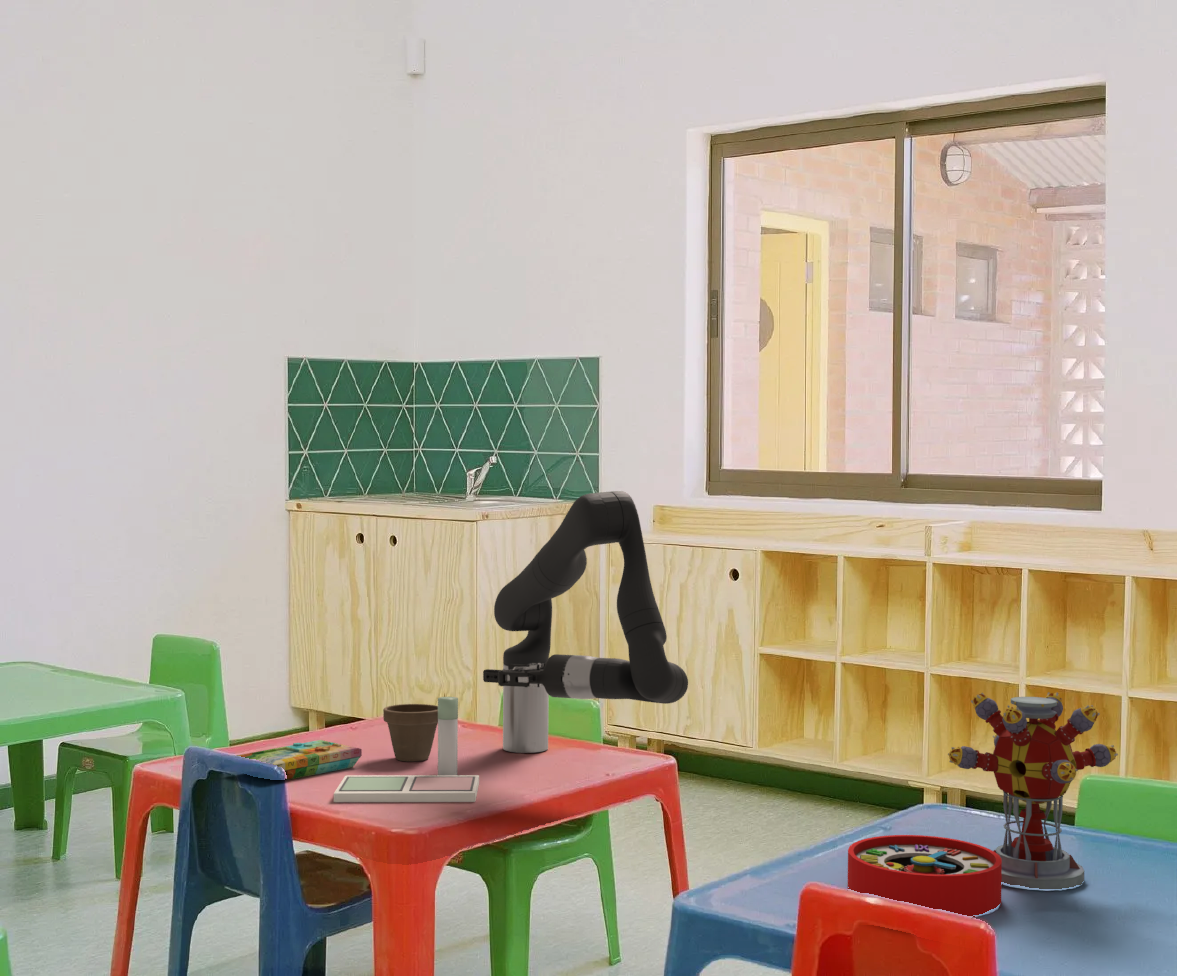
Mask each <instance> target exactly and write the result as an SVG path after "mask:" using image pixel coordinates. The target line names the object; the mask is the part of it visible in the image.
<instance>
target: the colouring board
mask: <svg viewBox="0 0 1177 976" xmlns="http://www.w3.org/2000/svg"><path fill="white" fill-rule="evenodd" d="M479 785H480V774H479V775H478V774H469V775H467V774H465V775H464V774H463V775H461V774H457V775H438V774H437V775H436V774H433V775H432V774H429V775H427V774H426V775H424V774H422V775H420V774H417V775H413V774H412V775H410V774H409V775H408V774H407V775H406V774H405V775H401V774H400V775H399V774H398V775H395V774H391V775H389V774H387V775H378V774H377V775H372V774H371V775H369V774H368V775H363V774H362V775H359V774H358V775H349V774H347V775H346V774H345V775H344V777H343V778H342V780H341V781H340V783H339V785H338V786H337V788H336V789H335V791H334V792H333V803H476V800H477V795H478V790H479V787H480V786H479Z"/></svg>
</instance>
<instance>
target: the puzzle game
mask: <svg viewBox="0 0 1177 976" xmlns="http://www.w3.org/2000/svg"><path fill="white" fill-rule="evenodd" d="M362 751H363V750H362V748H359V747H355V746H351V745H347V744H342V743H338V742H337V743H336V742H331V741H328V740H323V739H319V740H318V739H316V740H313V741H307V742H293V744H291V745H286V746H281V747H275V748H270V749H264V750H259V751H255V752H254V751H253V752H249V753H243V754H238V755H236V756H241V757H245V758H249V759H256V760H259V761H261V762H266V763H270V764H273V765H277V766H278V767H282V768H283V769H284V770H285V772H286V775H287V780H294V779H295V780H296V779H298V778H299V779H300V778H304V777H305V778H306V777H308V776H315V775H320V774H324V773H331V772H334V771H335V772H336V771H339V770H346V769H350V768H354V766H355V765H356V763H357V762H358V761H359V760H360V758H361V757H362V755H363V754H362ZM287 780H286V781H287Z"/></svg>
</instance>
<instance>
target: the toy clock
mask: <svg viewBox="0 0 1177 976" xmlns="http://www.w3.org/2000/svg"><path fill="white" fill-rule="evenodd" d="M1001 880H1002V859H1001V857H1000V856H999V855H998V854H997V853H996V852H994V850H992V849H990V848H987V847H985V846H984V845H983V846H982V845H981V844H978V843H977V844H976V843H973V842H970V841H965V840H962V839H957V838H956V839H955V838H950V837H949V838H948V837H941V836H935V835H921V834H920V835H919V834H918V835H917V834H894V835H893V834H891V835H890V834H889V835H880V836H873V837H868V838H864V839H860V840H858V841H856V842H853V843H852V844H851V845H849V847H848V849H847V889H851V890H854V891H857V892H860V893H869V894H874V895H878V896H881V897H885V898H889V899H893V900H897V901H904V902H909V903H913V904H917V905H921V906H925V907H929V908H933V909H942V910H946V911H950V912H954V913H958V914H962V915H967V916H973V915H979V914H983V913H985V912H987V911H989V910H991V909H994V908H996V907H997V906H998V905H999V904H1000V903H1001V904H1002V885H1001ZM848 887H849V888H848ZM973 917H975V916H973Z"/></svg>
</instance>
